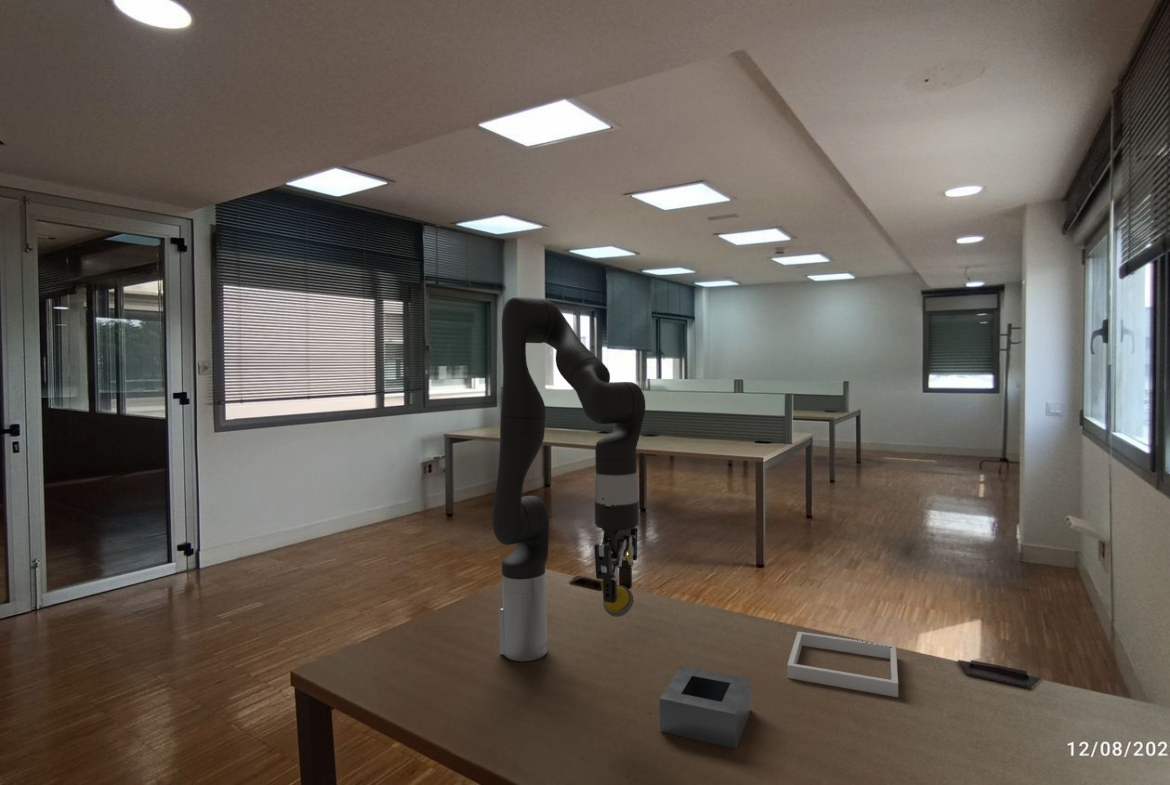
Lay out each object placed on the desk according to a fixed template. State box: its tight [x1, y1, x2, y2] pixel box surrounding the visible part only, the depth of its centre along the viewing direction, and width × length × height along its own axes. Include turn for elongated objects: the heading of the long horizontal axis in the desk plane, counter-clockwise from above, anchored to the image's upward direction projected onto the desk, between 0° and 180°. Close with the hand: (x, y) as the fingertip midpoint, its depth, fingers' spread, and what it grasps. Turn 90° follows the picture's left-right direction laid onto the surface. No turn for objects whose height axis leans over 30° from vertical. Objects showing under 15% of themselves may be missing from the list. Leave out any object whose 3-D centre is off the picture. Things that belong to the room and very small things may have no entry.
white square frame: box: [786, 631, 899, 698], centre depth 123 cm, size 19×17×2 cm
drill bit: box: [600, 581, 635, 618], centre depth 108 cm, size 5×5×10 cm
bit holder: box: [659, 665, 752, 750], centre depth 106 cm, size 12×12×6 cm
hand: (618, 594), depth 107 cm, fingers closed on drill bit, 6 cm apart
